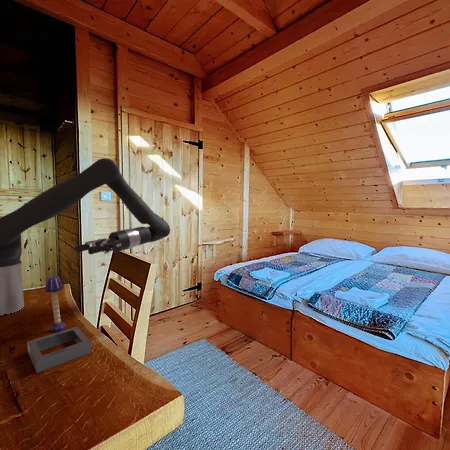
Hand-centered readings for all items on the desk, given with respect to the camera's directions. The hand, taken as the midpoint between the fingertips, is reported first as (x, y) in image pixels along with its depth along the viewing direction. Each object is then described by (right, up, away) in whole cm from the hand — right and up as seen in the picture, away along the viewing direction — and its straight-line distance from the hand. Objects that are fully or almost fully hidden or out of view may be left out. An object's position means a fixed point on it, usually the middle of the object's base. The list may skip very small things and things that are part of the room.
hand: (82, 250), depth 89 cm
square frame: (+4, -25, -18) cm, 31 cm away
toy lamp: (-5, -24, -5) cm, 25 cm away
